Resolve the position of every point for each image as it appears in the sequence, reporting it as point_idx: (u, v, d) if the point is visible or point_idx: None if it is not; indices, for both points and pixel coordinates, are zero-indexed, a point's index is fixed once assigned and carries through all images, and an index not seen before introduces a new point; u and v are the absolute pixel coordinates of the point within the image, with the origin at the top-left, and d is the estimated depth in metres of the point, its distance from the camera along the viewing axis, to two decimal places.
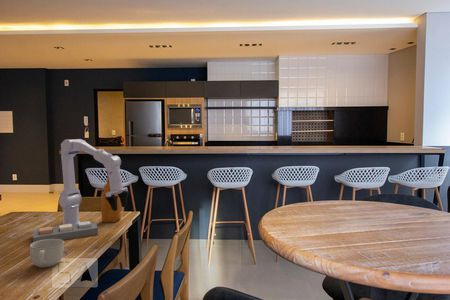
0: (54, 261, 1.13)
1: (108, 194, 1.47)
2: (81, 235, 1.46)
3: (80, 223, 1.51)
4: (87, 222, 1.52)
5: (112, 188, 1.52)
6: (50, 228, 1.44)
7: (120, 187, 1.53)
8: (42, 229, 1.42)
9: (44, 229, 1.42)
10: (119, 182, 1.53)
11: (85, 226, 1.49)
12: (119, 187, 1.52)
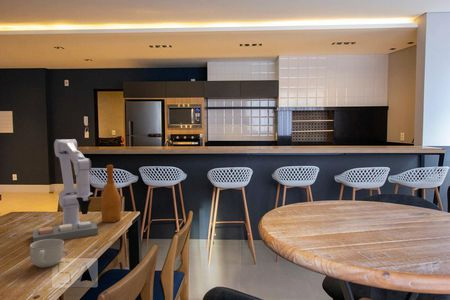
0: (54, 261, 1.13)
1: (86, 198, 1.45)
2: (81, 235, 1.46)
3: (80, 223, 1.51)
4: (87, 222, 1.52)
5: (83, 192, 1.48)
6: (50, 228, 1.44)
7: (89, 191, 1.51)
8: (42, 229, 1.42)
9: (44, 229, 1.42)
10: (89, 186, 1.51)
11: (85, 226, 1.49)
12: (89, 191, 1.51)
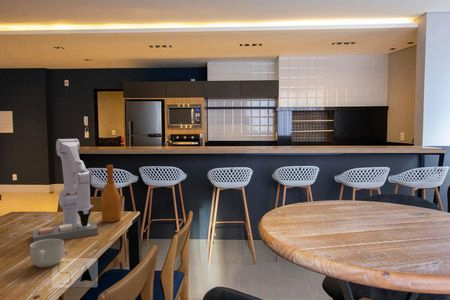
0: (54, 261, 1.13)
1: (87, 211, 1.45)
2: (81, 235, 1.46)
3: (80, 226, 1.51)
4: (87, 224, 1.53)
5: (83, 205, 1.48)
6: (50, 228, 1.44)
7: None
8: (42, 229, 1.42)
9: (44, 229, 1.42)
10: None
11: None
12: (89, 204, 1.51)
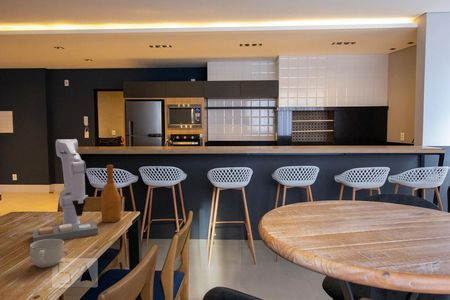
0: (54, 261, 1.13)
1: (81, 201, 1.44)
2: (81, 235, 1.46)
3: (80, 226, 1.51)
4: (87, 225, 1.53)
5: (78, 194, 1.47)
6: (50, 228, 1.44)
7: None
8: (42, 229, 1.42)
9: (44, 229, 1.42)
10: (84, 188, 1.50)
11: None
12: (84, 193, 1.50)
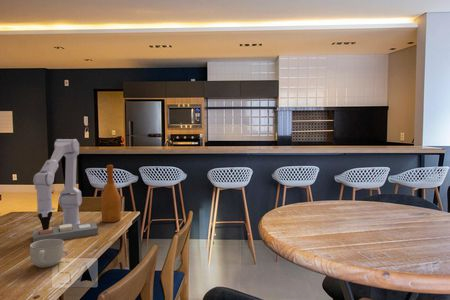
0: (54, 261, 1.13)
1: (45, 214, 1.37)
2: (81, 235, 1.46)
3: (80, 226, 1.51)
4: (87, 225, 1.53)
5: (44, 207, 1.40)
6: (50, 228, 1.44)
7: (51, 206, 1.43)
8: (42, 229, 1.42)
9: None
10: (51, 201, 1.43)
11: None
12: (51, 206, 1.43)
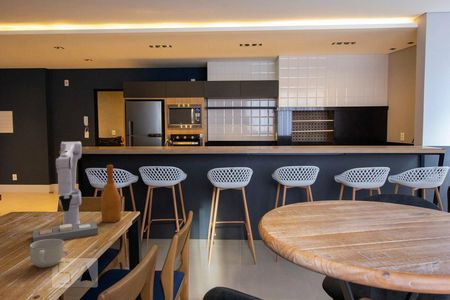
0: (54, 261, 1.13)
1: (67, 196, 1.45)
2: (81, 235, 1.46)
3: (80, 226, 1.51)
4: (87, 225, 1.53)
5: (65, 190, 1.48)
6: (50, 231, 1.44)
7: (71, 189, 1.51)
8: (42, 232, 1.42)
9: (44, 232, 1.42)
10: (71, 184, 1.51)
11: None
12: (71, 189, 1.51)
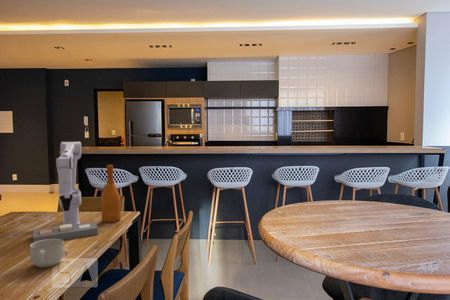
0: (54, 261, 1.13)
1: (68, 195, 1.45)
2: (81, 235, 1.46)
3: (80, 226, 1.51)
4: (87, 225, 1.53)
5: (65, 189, 1.48)
6: (50, 231, 1.44)
7: (72, 189, 1.52)
8: (42, 232, 1.42)
9: (44, 232, 1.42)
10: (71, 184, 1.51)
11: None
12: (71, 189, 1.51)
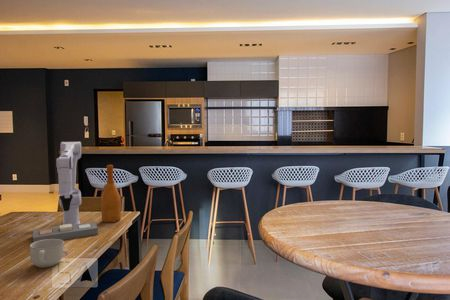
0: (54, 261, 1.13)
1: (68, 195, 1.45)
2: (81, 235, 1.46)
3: (80, 226, 1.51)
4: (87, 225, 1.53)
5: (65, 189, 1.48)
6: (50, 231, 1.44)
7: (72, 189, 1.52)
8: (42, 232, 1.42)
9: (44, 232, 1.42)
10: (71, 184, 1.51)
11: None
12: (71, 189, 1.51)
